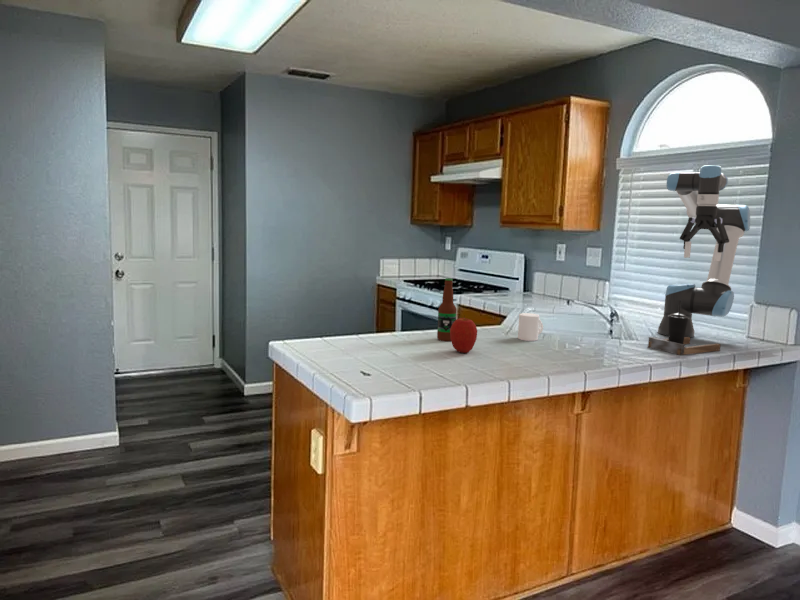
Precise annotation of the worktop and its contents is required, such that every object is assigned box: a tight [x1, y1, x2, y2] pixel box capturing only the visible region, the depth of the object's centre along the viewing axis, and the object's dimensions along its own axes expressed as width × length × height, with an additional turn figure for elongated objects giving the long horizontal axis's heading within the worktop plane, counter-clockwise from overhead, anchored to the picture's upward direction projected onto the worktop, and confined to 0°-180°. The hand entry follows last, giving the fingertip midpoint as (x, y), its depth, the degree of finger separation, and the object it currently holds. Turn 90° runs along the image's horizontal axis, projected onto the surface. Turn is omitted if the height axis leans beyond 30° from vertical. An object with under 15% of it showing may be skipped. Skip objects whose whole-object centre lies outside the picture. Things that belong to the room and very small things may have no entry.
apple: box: [450, 315, 478, 354], centre depth 220 cm, size 10×10×14 cm
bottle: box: [436, 277, 457, 342], centre depth 241 cm, size 7×7×25 cm
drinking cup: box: [668, 300, 689, 344], centre depth 237 cm, size 8×8×20 cm
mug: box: [517, 312, 544, 342], centre depth 250 cm, size 8×10×12 cm
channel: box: [647, 336, 721, 356], centre depth 241 cm, size 15×24×4 cm, turn 118°
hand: (701, 259), depth 238 cm, fingers open, 13 cm apart
